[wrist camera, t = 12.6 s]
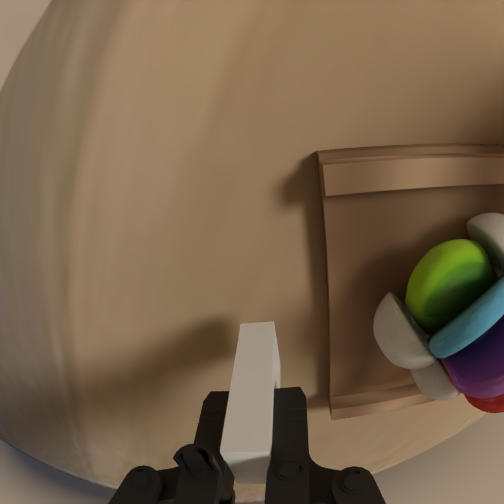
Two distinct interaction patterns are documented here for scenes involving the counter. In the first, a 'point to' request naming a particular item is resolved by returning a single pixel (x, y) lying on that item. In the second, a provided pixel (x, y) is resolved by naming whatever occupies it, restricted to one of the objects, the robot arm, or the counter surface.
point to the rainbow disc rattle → (453, 318)
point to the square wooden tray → (390, 249)
